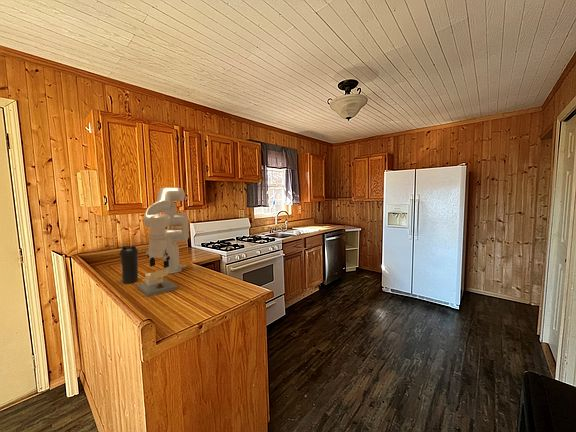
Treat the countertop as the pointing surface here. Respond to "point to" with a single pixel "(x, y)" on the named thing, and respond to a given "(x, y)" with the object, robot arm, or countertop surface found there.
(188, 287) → the countertop surface
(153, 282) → the cream rectangular block
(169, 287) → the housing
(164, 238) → the robot arm
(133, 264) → the water bottle
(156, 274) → the key
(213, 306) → the countertop surface
